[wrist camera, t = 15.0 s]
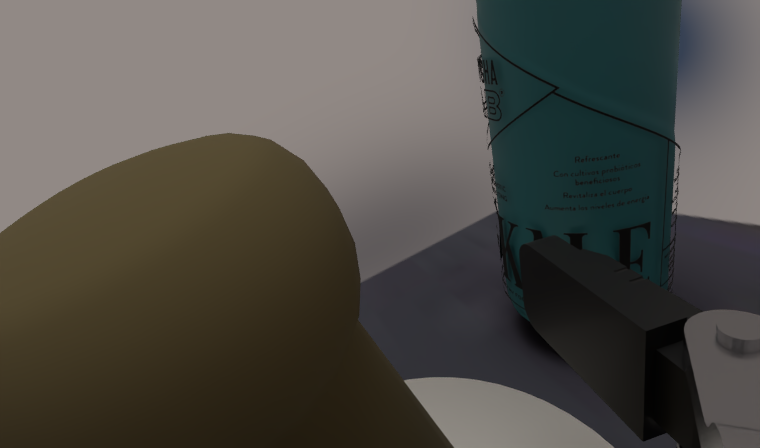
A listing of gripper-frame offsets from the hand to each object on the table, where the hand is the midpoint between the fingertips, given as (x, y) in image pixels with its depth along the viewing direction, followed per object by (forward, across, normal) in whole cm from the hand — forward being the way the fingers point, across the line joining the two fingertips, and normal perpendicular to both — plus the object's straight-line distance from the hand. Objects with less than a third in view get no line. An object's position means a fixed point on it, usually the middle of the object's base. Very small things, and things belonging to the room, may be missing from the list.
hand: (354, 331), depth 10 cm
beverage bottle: (+6, -10, +8) cm, 14 cm away
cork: (-1, +1, +6) cm, 6 cm away
